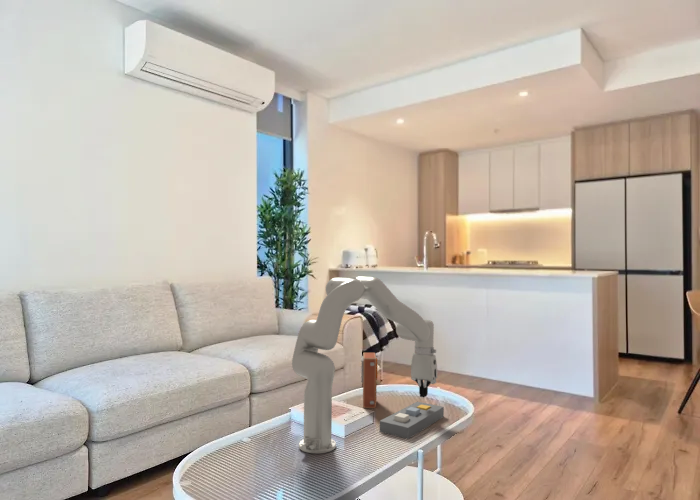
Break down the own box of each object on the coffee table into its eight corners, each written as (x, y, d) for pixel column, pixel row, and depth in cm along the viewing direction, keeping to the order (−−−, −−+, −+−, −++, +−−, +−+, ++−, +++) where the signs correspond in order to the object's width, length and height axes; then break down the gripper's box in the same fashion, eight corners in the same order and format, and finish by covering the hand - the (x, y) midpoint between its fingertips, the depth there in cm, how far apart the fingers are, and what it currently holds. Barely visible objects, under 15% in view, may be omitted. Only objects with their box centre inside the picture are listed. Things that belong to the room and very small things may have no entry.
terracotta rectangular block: (376, 399, 221) (377, 409, 206) (360, 398, 221) (361, 409, 206) (376, 352, 221) (377, 359, 206) (361, 351, 221) (361, 358, 206)
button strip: (408, 439, 173) (408, 427, 173) (379, 431, 180) (379, 420, 180) (443, 416, 197) (443, 406, 197) (417, 411, 204) (417, 401, 204)
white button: (403, 425, 178) (403, 417, 178) (394, 423, 181) (394, 415, 181) (409, 422, 181) (409, 414, 182) (399, 420, 184) (399, 412, 184)
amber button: (425, 416, 193) (425, 408, 193) (416, 414, 195) (416, 406, 195) (430, 413, 196) (430, 406, 196) (421, 411, 198) (421, 404, 198)
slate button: (415, 419, 186) (415, 411, 186) (406, 417, 188) (406, 409, 188) (420, 416, 189) (420, 408, 189) (410, 414, 191) (411, 406, 191)
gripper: (444, 351, 195) (444, 397, 194) (411, 347, 203) (411, 391, 203) (436, 354, 189) (436, 402, 188) (403, 350, 197) (402, 395, 197)
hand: (423, 396), depth 196 cm, fingers closed
